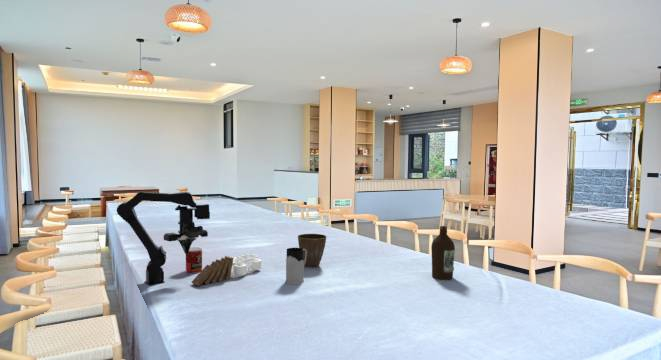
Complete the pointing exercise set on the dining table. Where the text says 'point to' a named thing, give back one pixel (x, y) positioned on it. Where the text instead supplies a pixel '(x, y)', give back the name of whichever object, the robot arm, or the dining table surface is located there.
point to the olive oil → (442, 256)
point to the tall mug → (295, 265)
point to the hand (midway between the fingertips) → (186, 253)
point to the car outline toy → (245, 265)
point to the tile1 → (203, 275)
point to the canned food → (194, 260)
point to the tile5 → (228, 268)
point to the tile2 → (215, 266)
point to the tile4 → (223, 269)
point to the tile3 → (217, 270)
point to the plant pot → (312, 248)
